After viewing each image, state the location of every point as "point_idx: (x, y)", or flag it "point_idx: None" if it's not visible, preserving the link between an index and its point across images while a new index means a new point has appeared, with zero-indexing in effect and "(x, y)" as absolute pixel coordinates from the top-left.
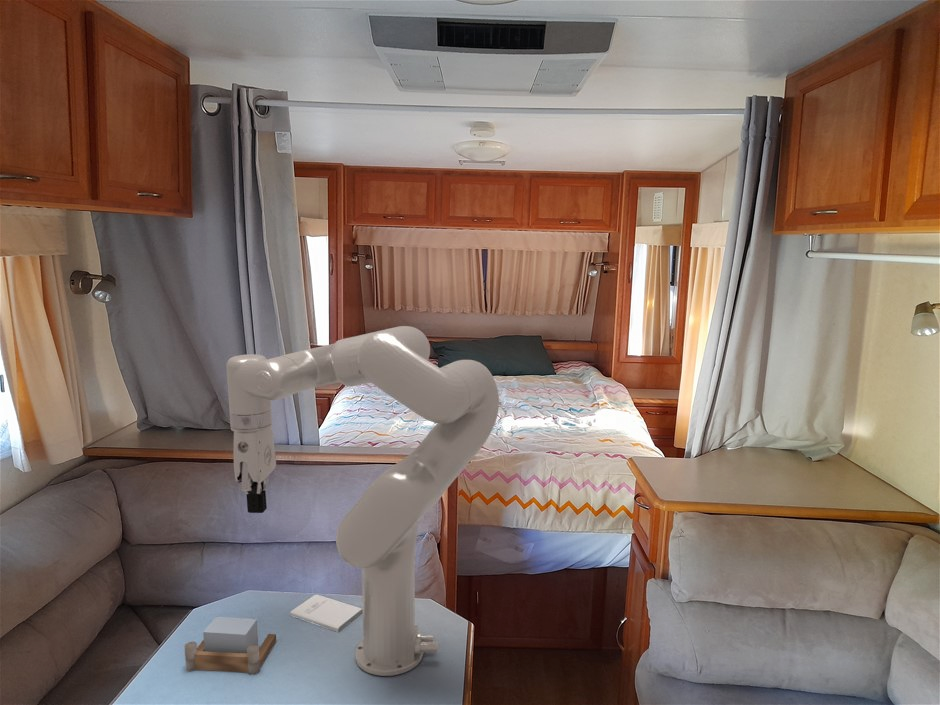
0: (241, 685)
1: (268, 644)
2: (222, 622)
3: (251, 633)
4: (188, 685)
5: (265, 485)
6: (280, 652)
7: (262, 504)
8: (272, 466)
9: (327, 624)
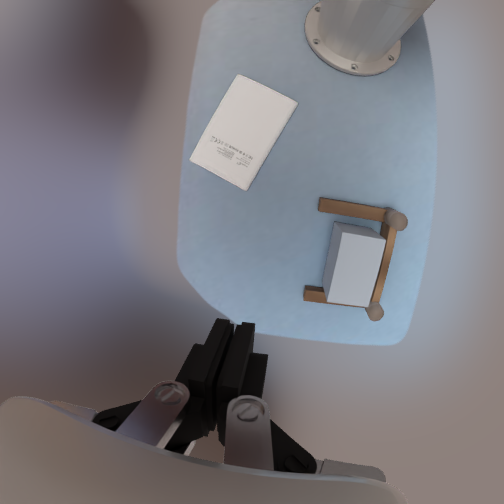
0: (412, 225)
1: (348, 205)
2: (345, 287)
3: (363, 233)
4: (400, 290)
5: (155, 391)
6: (348, 185)
7: (248, 348)
8: (63, 451)
9: (285, 120)
